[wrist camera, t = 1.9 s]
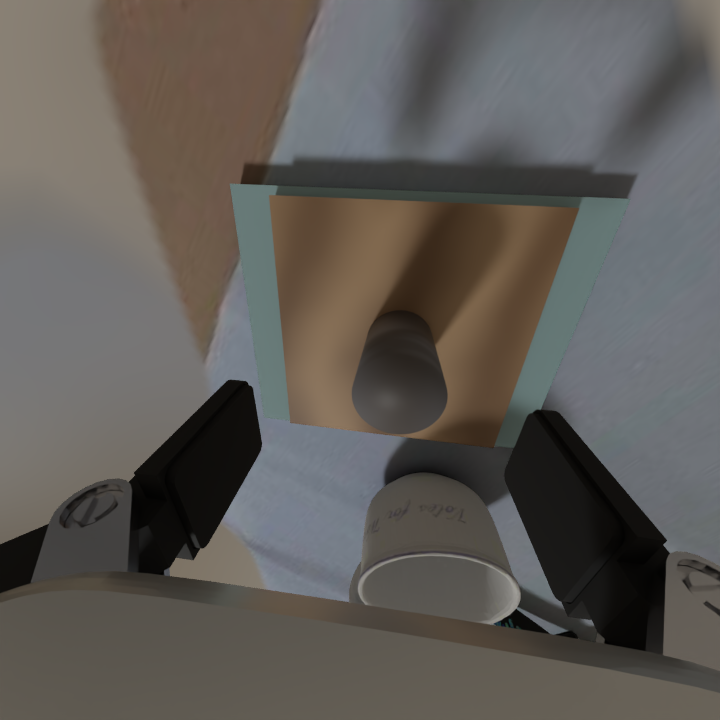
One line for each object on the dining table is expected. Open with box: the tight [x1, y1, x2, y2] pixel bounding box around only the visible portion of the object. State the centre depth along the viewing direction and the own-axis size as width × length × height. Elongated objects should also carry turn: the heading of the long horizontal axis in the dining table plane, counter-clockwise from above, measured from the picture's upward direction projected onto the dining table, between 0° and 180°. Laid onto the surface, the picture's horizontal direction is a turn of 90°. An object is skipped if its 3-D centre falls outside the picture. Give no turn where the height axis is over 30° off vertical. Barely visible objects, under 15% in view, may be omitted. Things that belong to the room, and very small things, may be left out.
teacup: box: [349, 473, 521, 625], centre depth 22 cm, size 14×11×8 cm
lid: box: [269, 195, 579, 448], centre depth 15 cm, size 15×15×7 cm
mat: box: [230, 184, 630, 448], centre depth 18 cm, size 20×16×1 cm
